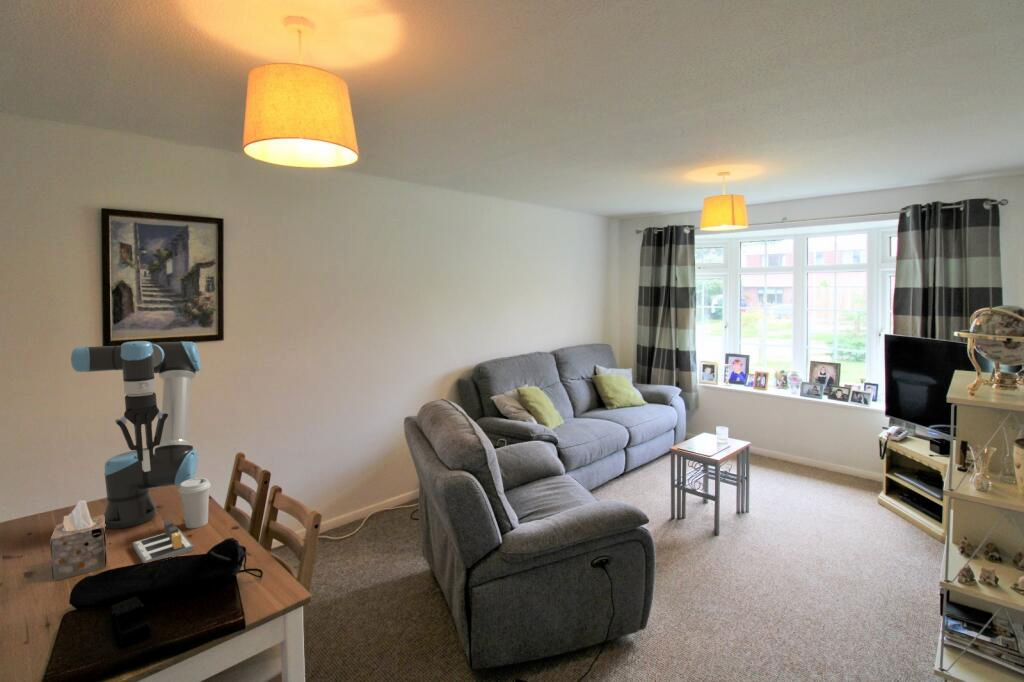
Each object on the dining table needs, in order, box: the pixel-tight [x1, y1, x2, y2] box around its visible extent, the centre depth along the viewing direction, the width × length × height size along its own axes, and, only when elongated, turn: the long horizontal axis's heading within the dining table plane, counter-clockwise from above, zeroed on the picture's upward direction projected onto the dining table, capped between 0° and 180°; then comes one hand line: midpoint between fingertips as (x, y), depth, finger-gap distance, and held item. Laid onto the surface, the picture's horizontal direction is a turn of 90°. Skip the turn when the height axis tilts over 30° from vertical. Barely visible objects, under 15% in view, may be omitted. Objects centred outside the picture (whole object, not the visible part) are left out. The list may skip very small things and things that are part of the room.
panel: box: [132, 520, 194, 564], centre depth 158 cm, size 16×12×6 cm
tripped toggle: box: [171, 532, 182, 549], centre depth 156 cm, size 2×2×4 cm
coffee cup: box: [177, 477, 212, 529], centre depth 174 cm, size 10×10×15 cm
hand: (146, 470), depth 154 cm, fingers closed
